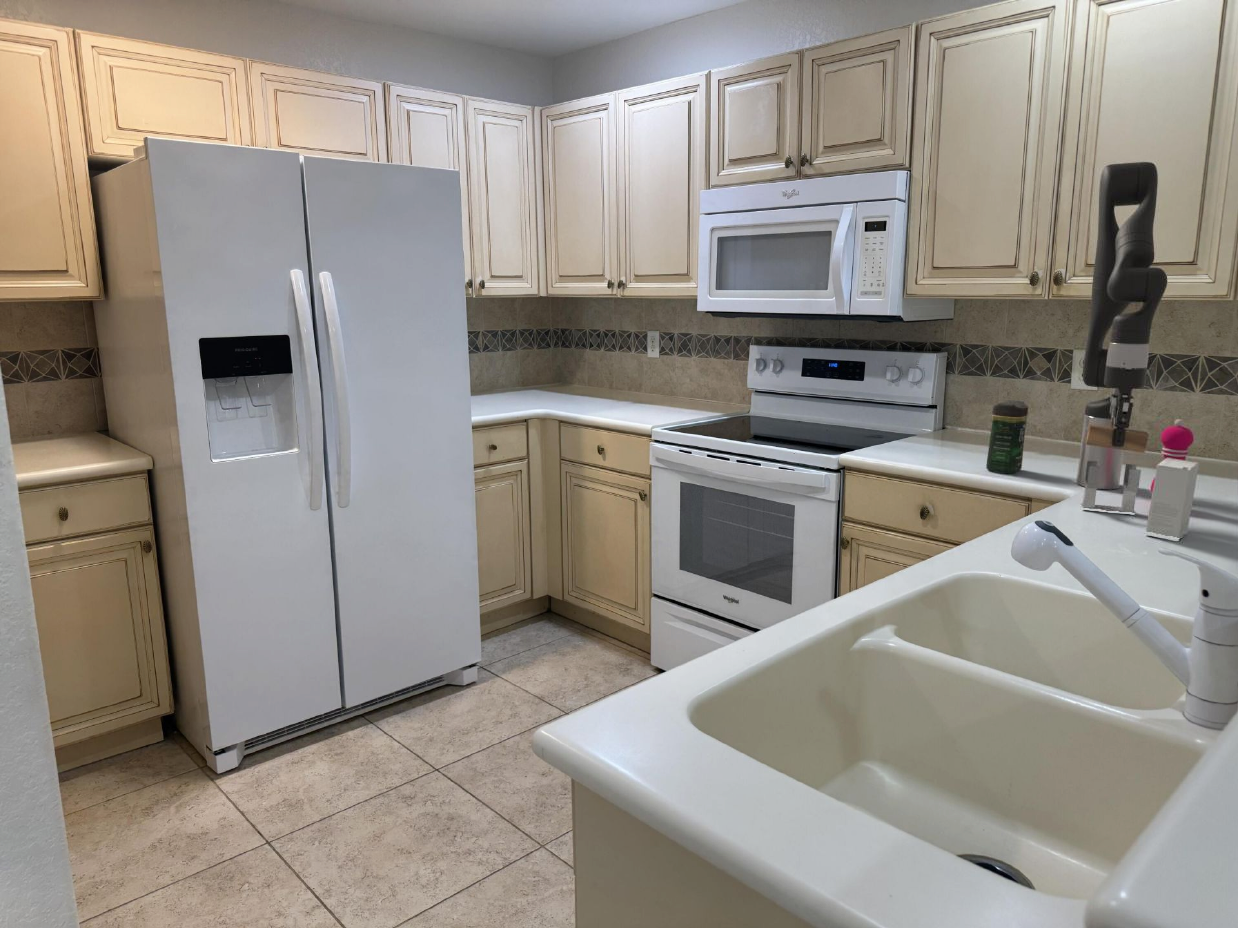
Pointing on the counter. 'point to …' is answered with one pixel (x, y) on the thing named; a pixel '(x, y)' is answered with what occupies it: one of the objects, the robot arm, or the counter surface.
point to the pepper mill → (1175, 442)
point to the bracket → (1129, 485)
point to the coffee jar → (1007, 437)
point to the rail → (1104, 436)
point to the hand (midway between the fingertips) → (1116, 444)
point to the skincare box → (1172, 497)
